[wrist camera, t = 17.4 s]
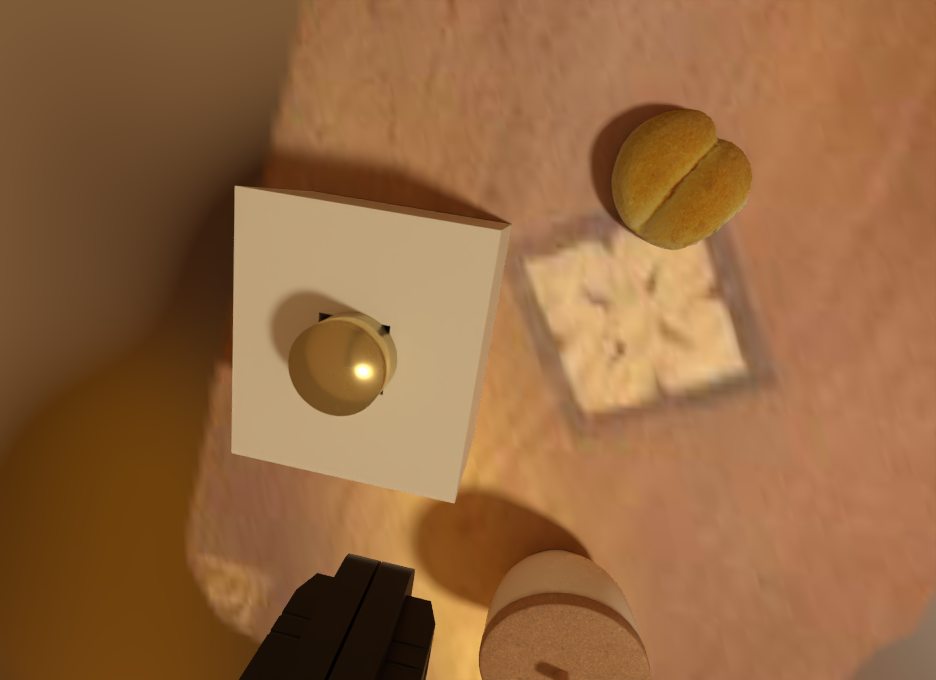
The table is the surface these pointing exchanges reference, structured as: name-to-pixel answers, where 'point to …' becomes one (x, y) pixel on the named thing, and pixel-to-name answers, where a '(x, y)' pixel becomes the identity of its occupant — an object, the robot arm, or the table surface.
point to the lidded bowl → (561, 624)
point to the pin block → (381, 297)
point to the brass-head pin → (342, 363)
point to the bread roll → (679, 179)
